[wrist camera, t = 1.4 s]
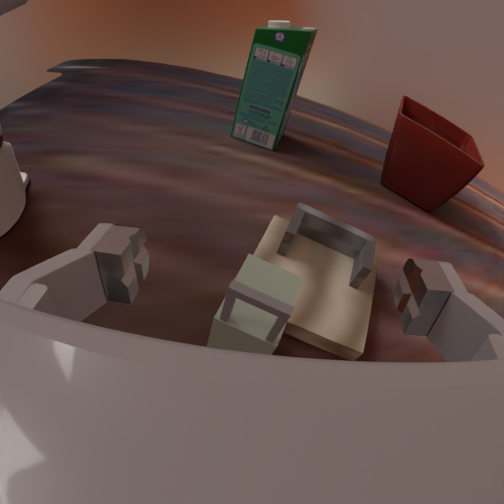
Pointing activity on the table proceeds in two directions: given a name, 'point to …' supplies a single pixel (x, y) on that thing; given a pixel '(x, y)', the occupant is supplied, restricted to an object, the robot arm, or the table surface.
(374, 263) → the dock
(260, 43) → the milk carton
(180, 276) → the table surface
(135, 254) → the robot arm
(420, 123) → the plant pot
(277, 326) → the pale green handled box
